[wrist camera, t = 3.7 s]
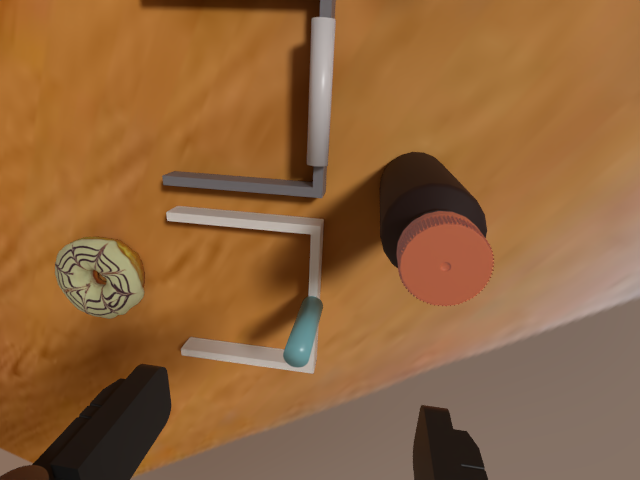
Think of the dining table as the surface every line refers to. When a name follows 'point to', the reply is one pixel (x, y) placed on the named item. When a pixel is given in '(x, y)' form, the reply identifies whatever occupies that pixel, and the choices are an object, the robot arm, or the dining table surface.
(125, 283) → the decorated donut
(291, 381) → the dining table surface
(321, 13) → the grey u-shaped handle
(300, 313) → the white u-shaped bracket
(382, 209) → the vinegar
